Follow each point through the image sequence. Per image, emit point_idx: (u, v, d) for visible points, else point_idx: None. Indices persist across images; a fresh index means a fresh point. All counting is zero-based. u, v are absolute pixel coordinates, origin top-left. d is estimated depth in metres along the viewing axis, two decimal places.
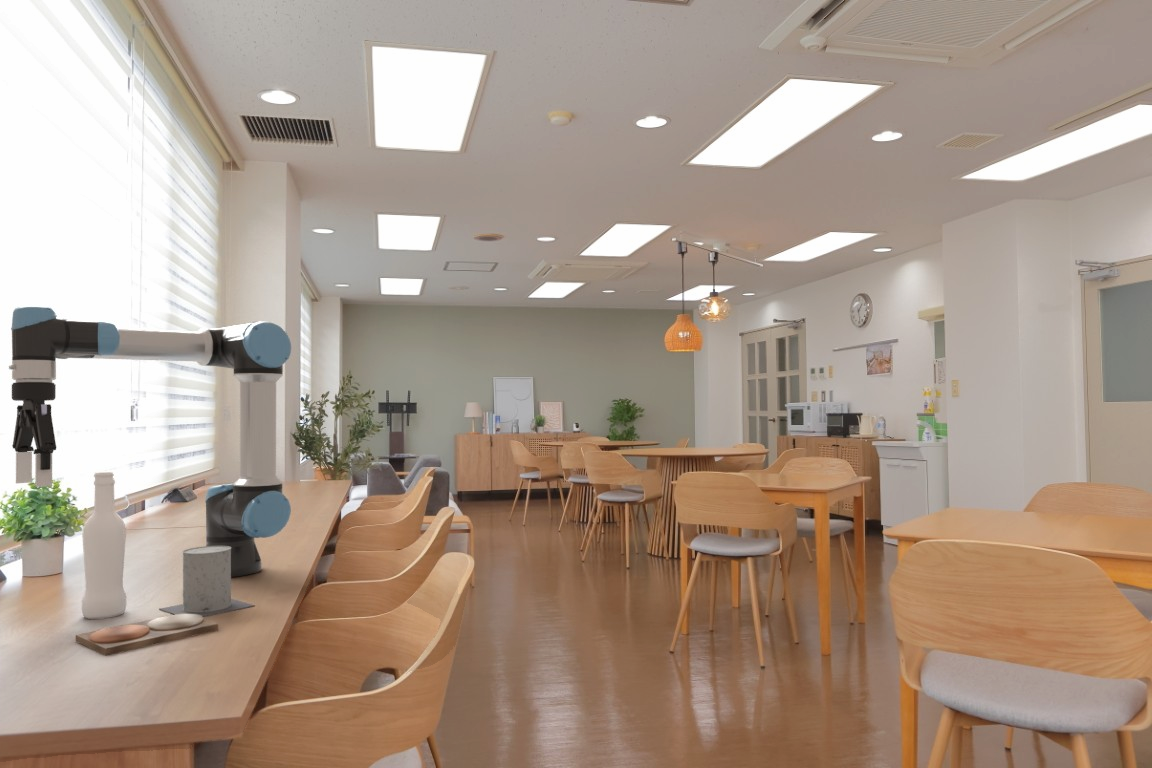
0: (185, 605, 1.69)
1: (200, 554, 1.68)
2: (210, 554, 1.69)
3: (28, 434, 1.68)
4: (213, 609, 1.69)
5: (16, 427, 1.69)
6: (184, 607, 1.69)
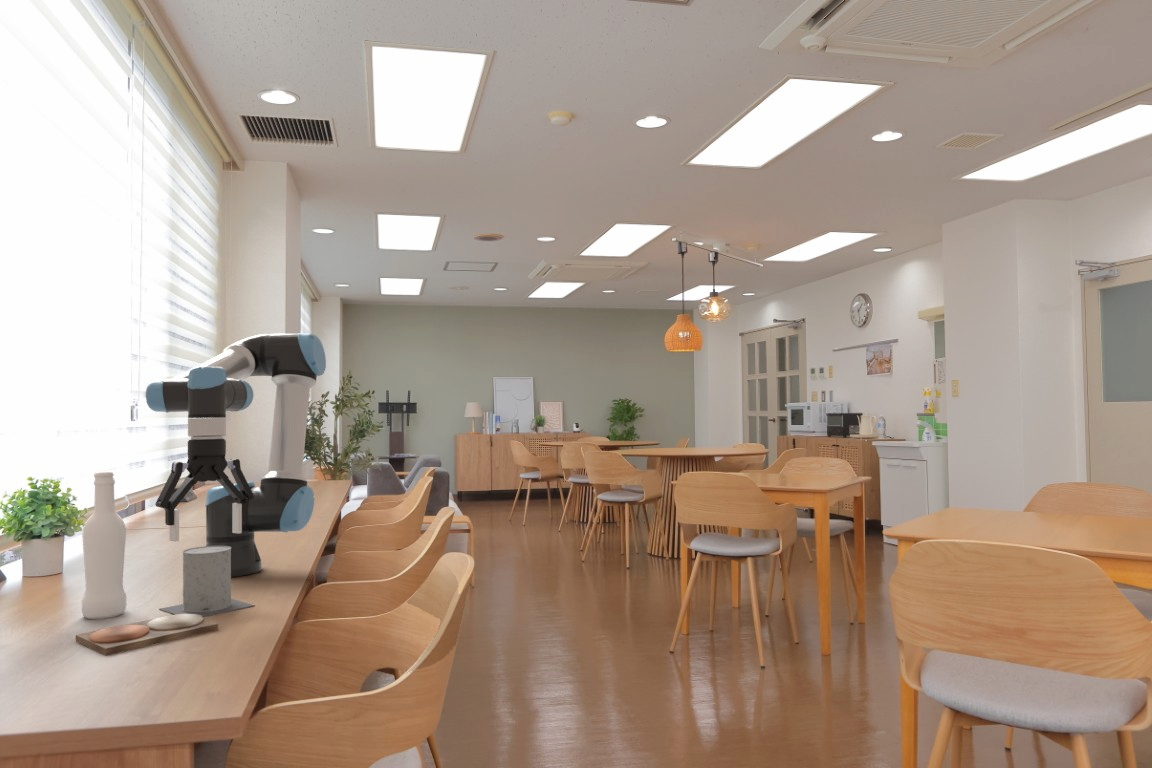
0: (185, 605, 1.69)
1: (200, 554, 1.68)
2: (210, 554, 1.69)
3: (226, 487, 1.76)
4: (213, 609, 1.69)
5: None
6: (184, 607, 1.69)
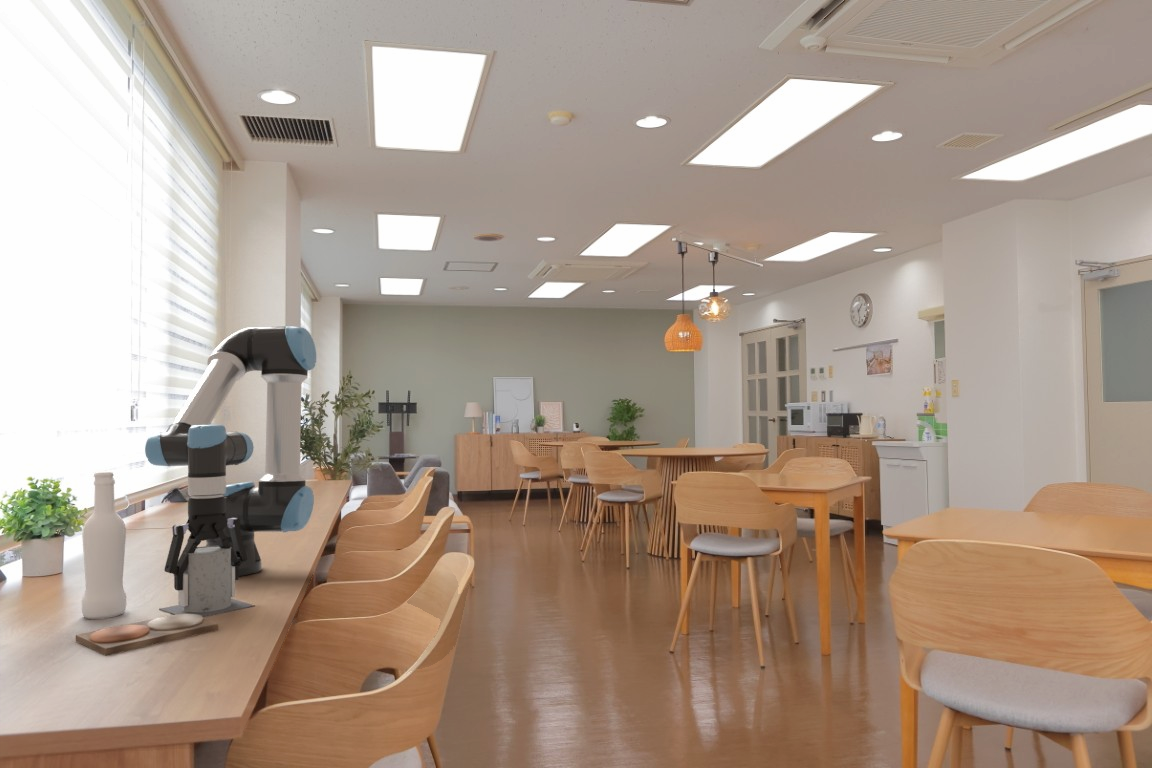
0: None
1: (200, 554, 1.68)
2: (210, 554, 1.69)
3: (222, 547, 1.75)
4: (213, 609, 1.69)
5: None
6: (184, 607, 1.69)
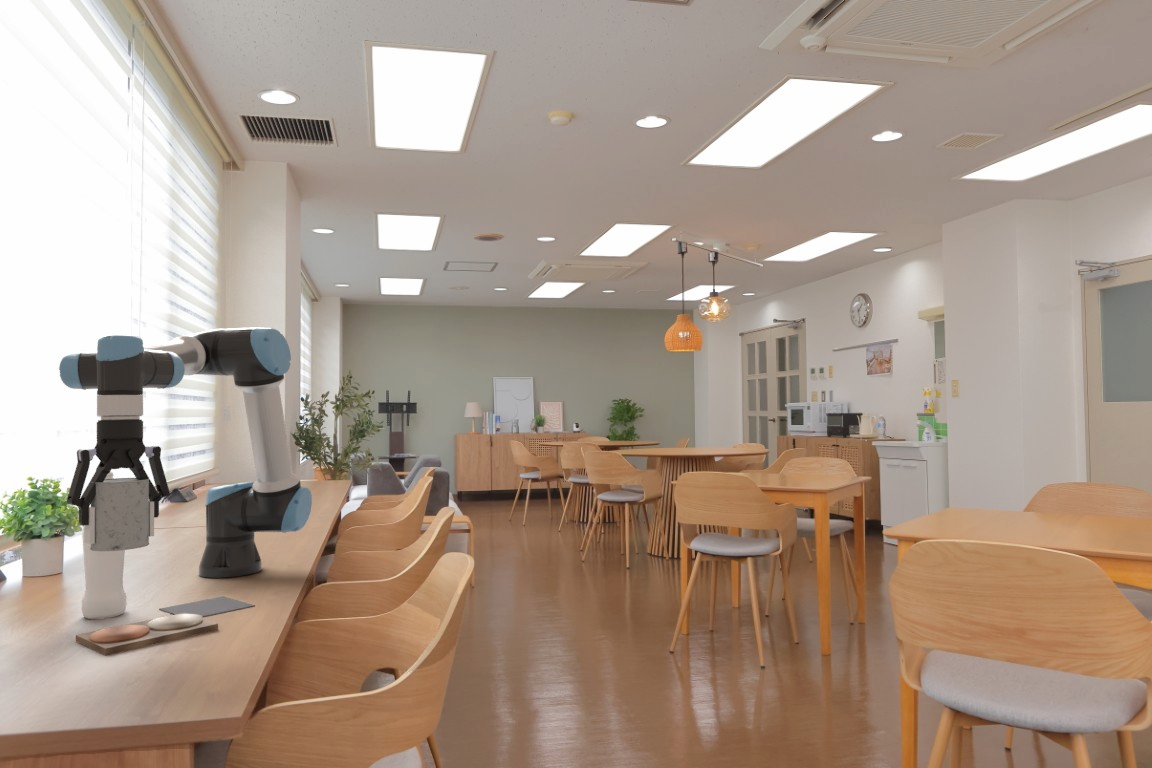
0: None
1: (109, 483, 1.44)
2: (121, 483, 1.45)
3: None
4: (125, 548, 1.45)
5: None
6: (91, 546, 1.45)
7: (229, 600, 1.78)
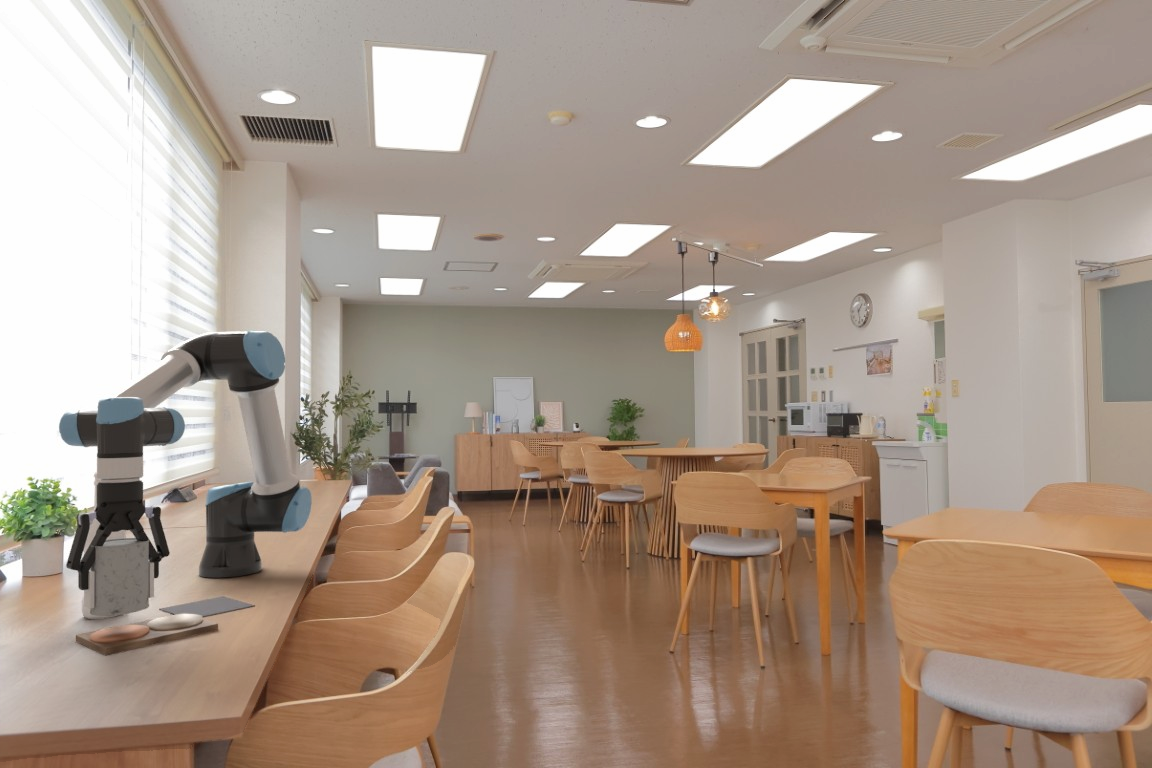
0: None
1: (109, 547, 1.44)
2: (121, 547, 1.44)
3: (139, 540, 1.51)
4: (124, 612, 1.44)
5: None
6: (90, 610, 1.45)
7: (229, 600, 1.78)
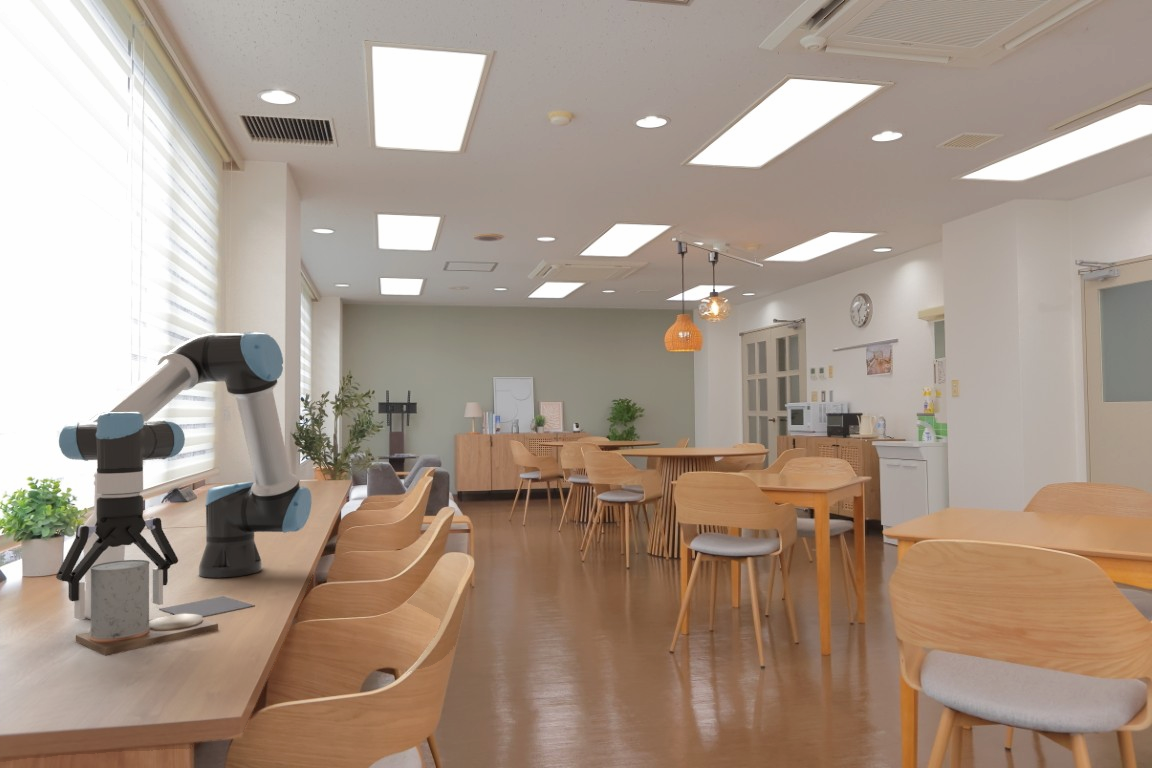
0: (92, 631, 1.44)
1: (109, 571, 1.44)
2: (121, 570, 1.44)
3: (145, 551, 1.52)
4: (125, 635, 1.44)
5: None
6: (91, 633, 1.45)
7: (229, 600, 1.78)
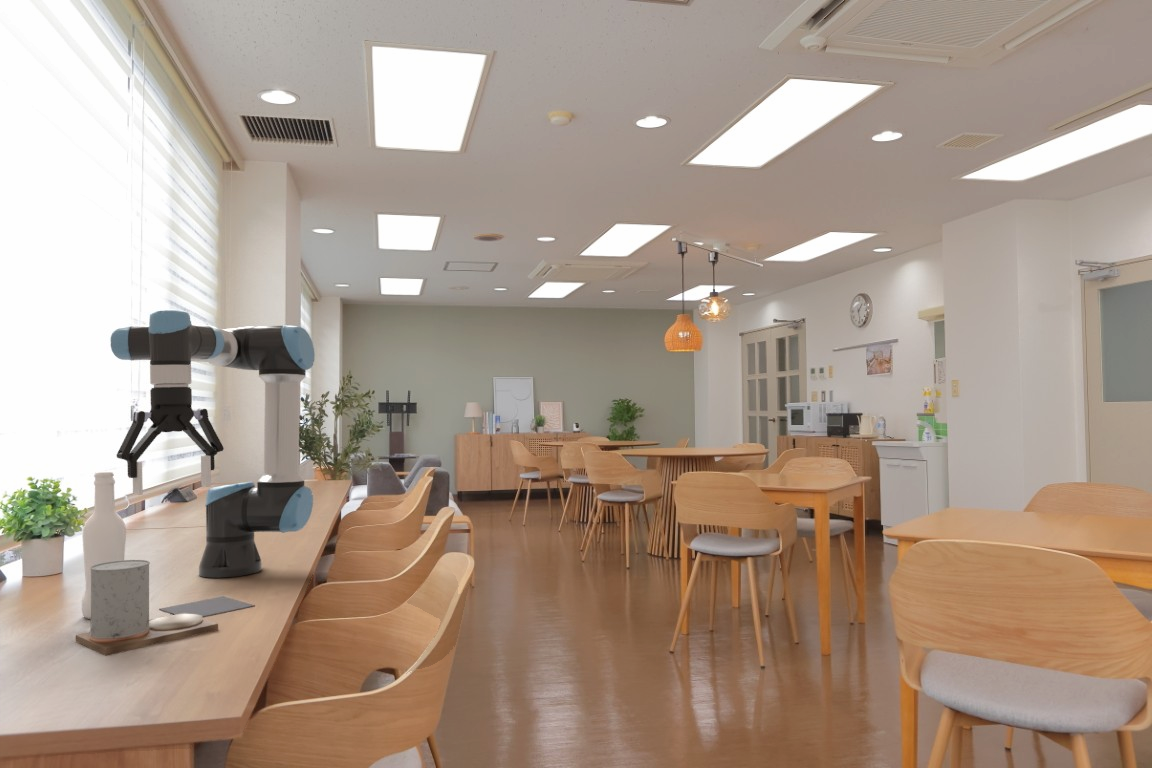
0: (92, 631, 1.44)
1: (109, 570, 1.44)
2: (122, 570, 1.45)
3: (194, 438, 1.67)
4: (125, 635, 1.44)
5: None
6: (91, 633, 1.45)
7: (229, 600, 1.78)
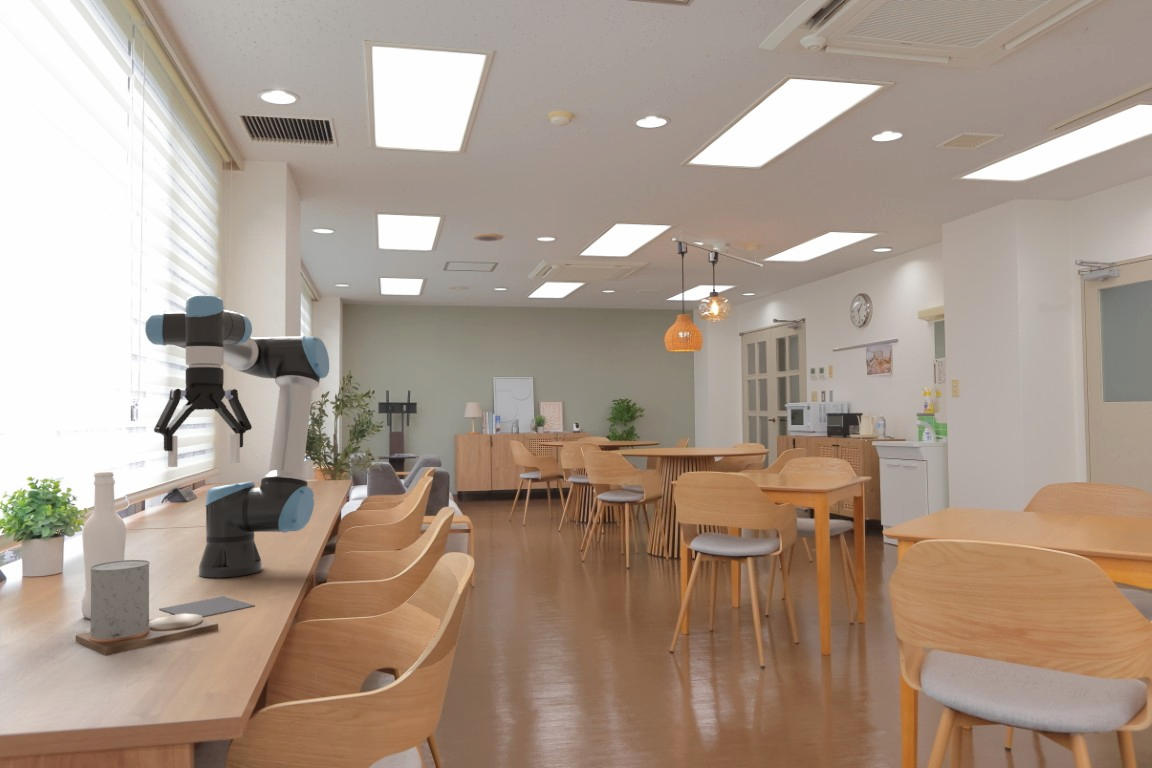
0: (92, 631, 1.44)
1: (109, 571, 1.44)
2: (121, 571, 1.44)
3: (224, 417, 1.78)
4: (125, 635, 1.44)
5: None
6: (91, 633, 1.45)
7: (229, 600, 1.78)
